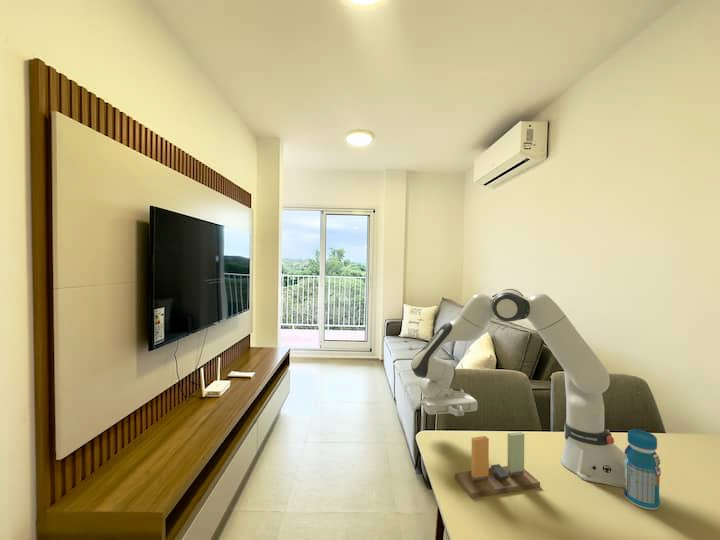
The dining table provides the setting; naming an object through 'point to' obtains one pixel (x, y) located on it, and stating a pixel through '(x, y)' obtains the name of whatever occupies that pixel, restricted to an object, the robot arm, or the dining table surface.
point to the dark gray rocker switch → (499, 472)
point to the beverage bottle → (642, 470)
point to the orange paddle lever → (480, 458)
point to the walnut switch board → (495, 483)
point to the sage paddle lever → (515, 453)
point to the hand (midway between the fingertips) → (460, 413)
